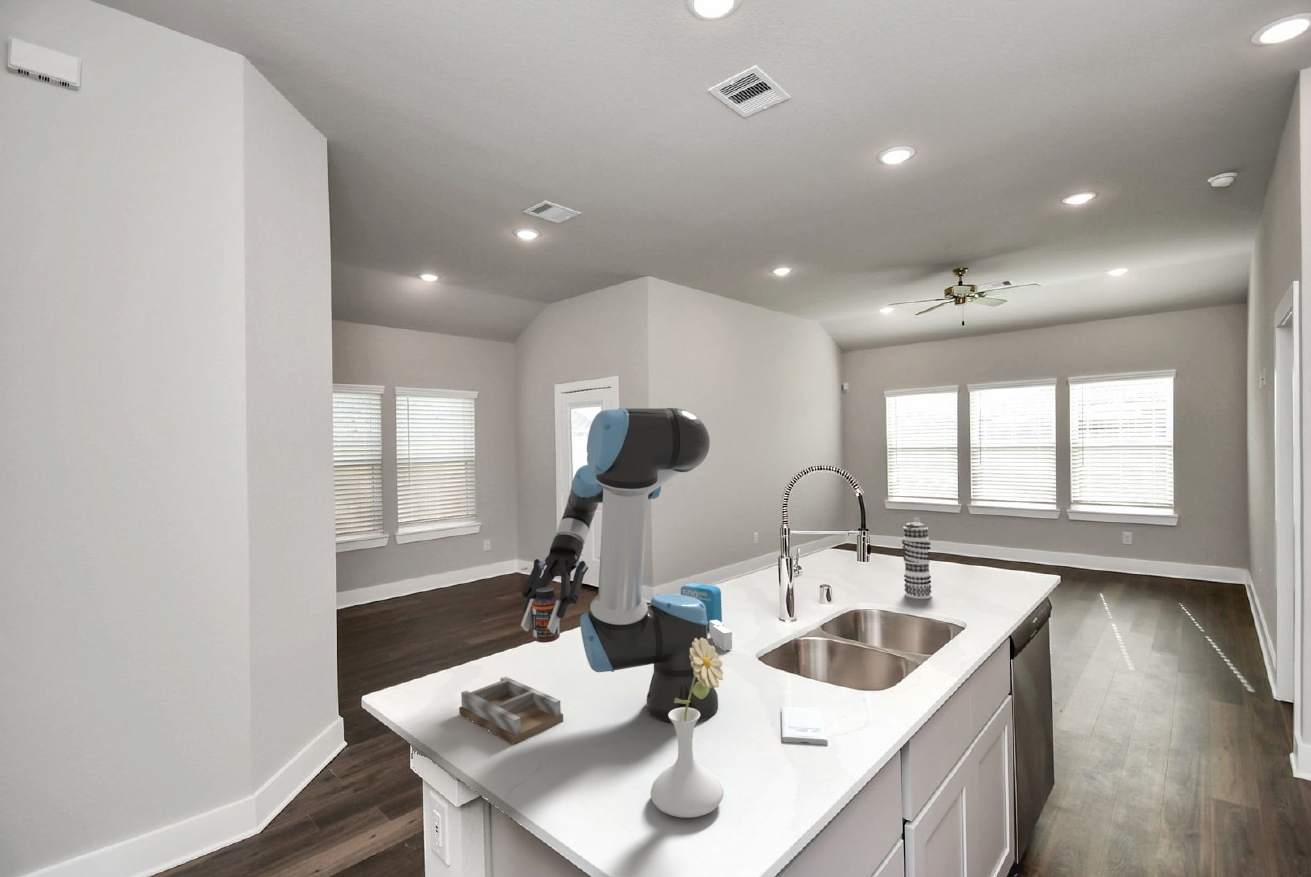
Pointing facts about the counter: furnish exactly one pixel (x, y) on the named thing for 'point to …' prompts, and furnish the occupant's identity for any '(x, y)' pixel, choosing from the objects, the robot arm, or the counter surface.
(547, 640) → the supplement bottle
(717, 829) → the counter surface
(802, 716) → the external hard drive
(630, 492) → the robot arm
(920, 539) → the decorative candle
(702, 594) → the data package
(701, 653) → the flower in vase
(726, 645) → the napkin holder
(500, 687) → the wooden divided tray
